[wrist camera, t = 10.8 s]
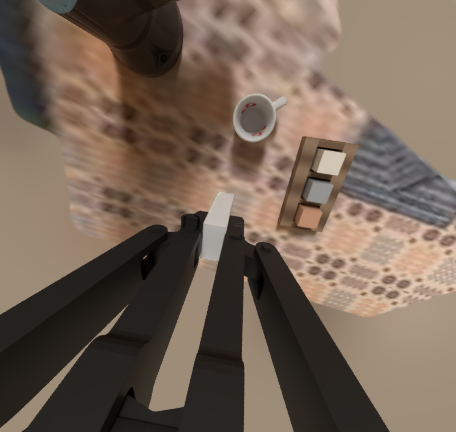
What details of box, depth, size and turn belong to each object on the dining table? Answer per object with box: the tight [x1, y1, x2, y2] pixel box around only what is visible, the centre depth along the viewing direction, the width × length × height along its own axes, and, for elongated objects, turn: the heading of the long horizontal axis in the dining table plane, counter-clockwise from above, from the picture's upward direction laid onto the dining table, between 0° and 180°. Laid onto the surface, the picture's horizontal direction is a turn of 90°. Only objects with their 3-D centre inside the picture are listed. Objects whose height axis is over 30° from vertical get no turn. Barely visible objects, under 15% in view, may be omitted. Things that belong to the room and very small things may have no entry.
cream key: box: [310, 149, 346, 176], centre depth 38 cm, size 4×4×4 cm
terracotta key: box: [294, 203, 323, 229], centre depth 44 cm, size 4×4×4 cm
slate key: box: [301, 177, 334, 204], centre depth 41 cm, size 4×4×4 cm
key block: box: [278, 136, 359, 232], centre depth 43 cm, size 21×11×3 cm, turn 172°
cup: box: [233, 94, 287, 142], centre depth 36 cm, size 11×8×8 cm
